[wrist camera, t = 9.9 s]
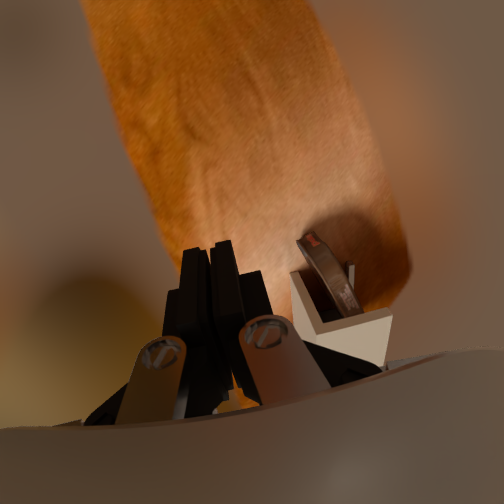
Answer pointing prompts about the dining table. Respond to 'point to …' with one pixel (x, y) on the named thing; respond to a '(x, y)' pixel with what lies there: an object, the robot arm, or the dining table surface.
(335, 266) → the tin
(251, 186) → the dining table surface
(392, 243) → the dining table surface
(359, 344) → the white u-channel
